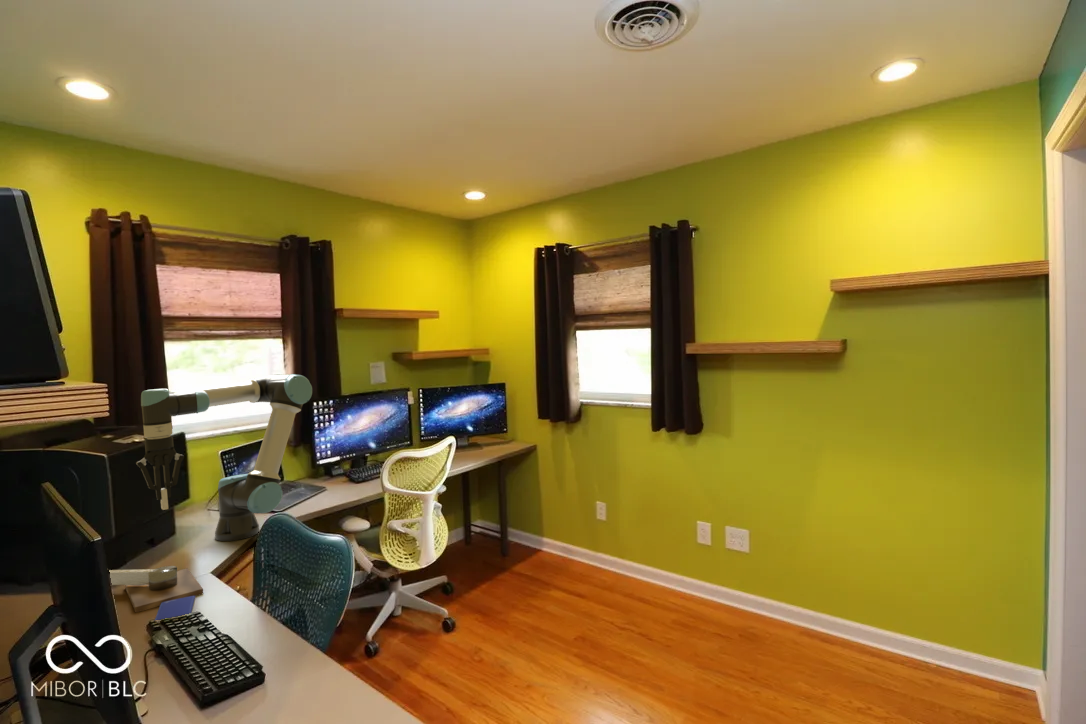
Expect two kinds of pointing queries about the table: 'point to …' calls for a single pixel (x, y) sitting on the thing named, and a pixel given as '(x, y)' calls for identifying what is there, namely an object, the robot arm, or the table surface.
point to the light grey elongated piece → (146, 577)
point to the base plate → (163, 592)
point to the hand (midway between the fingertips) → (164, 508)
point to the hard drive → (175, 607)
